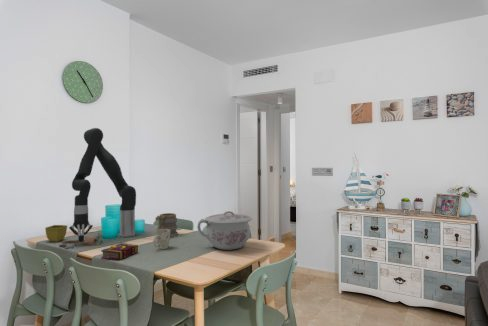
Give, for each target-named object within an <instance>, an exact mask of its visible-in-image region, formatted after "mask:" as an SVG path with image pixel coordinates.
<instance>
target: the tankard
mask: <svg viewBox="0 0 488 326" xmlns="http://www.w3.org/2000/svg"><path fill="white" fill-rule="evenodd" d="M154 219H155V221H158V225H157V230H159V229H169V230H170V238H174V237H176V236H178V235H179V232H178V231H177V229H178V224H177V222H178V218H177V214H176V213H172V212H170V213H169V212H166V213H160V214H159V215H157V216H155V218H154Z"/></svg>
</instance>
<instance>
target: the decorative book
mask: <svg viewBox="0 0 488 326" xmlns="http://www.w3.org/2000/svg"><path fill="white" fill-rule="evenodd" d="M138 245H139V244H131V243H130V244H129V243H124V242H120V243H118V244H116V245H111V246H110V247H107V248H104V249H101V250H100V252H102V256H101V257H100V258H101V260H115V261H120V260H123V259H127V257H130V256H134V255H135V254H137V253H138V251H139V246H138Z"/></svg>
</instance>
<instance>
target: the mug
mask: <svg viewBox="0 0 488 326" xmlns="http://www.w3.org/2000/svg"><path fill="white" fill-rule="evenodd" d="M170 238H171V237H170V230H169V229H159V230H158V229H155V236H154V239H153V247H155V248H157V249H158V250H167V249H169V245H170Z"/></svg>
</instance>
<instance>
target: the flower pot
mask: <svg viewBox="0 0 488 326" xmlns="http://www.w3.org/2000/svg"><path fill="white" fill-rule="evenodd" d="M44 229H45V235H46V238H47V240H48V241H49V242H51V241H52V242H55V243H57V242H62V241H64V239H65V236H66V234H67V229H68V225H64V224H62V225H61V224H54V225H49V226H46V227H45V228H44Z"/></svg>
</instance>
